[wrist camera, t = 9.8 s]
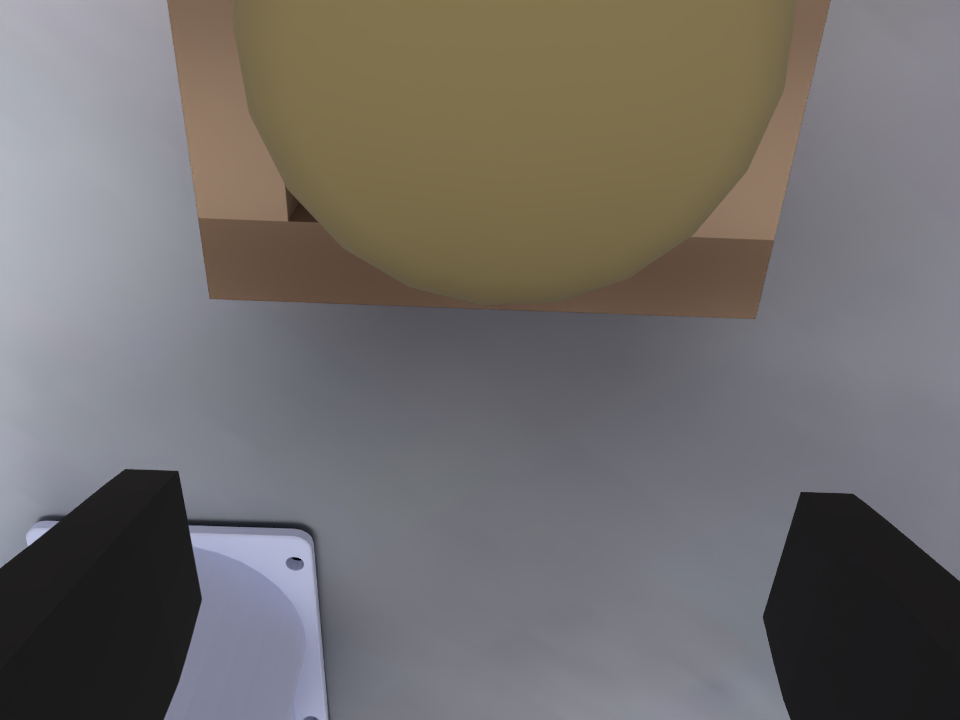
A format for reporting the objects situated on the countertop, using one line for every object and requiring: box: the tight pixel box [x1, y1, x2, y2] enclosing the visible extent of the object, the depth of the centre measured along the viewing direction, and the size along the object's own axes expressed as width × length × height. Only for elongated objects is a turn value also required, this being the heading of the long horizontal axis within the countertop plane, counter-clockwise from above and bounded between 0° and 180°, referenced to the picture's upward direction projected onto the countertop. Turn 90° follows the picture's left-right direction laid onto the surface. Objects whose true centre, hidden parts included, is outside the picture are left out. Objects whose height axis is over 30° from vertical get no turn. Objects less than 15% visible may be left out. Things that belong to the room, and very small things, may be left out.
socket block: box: [167, 0, 831, 319], centre depth 15 cm, size 11×11×3 cm
